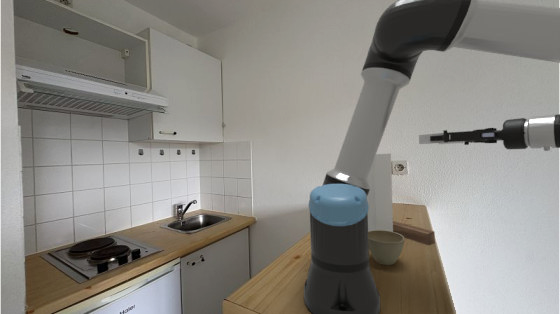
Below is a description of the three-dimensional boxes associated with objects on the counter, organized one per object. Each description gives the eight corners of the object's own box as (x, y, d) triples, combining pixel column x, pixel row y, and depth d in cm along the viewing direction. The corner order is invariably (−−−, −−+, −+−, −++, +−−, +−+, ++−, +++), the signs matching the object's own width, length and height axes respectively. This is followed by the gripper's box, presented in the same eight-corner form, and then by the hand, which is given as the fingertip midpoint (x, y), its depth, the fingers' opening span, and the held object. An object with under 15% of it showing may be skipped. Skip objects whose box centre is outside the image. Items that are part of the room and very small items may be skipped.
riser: (376, 245, 74) (374, 154, 74) (342, 233, 85) (340, 154, 85) (393, 238, 80) (390, 153, 79) (359, 228, 91) (357, 154, 91)
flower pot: (367, 251, 70) (366, 228, 70) (403, 256, 65) (403, 232, 65) (363, 265, 61) (363, 239, 61) (406, 273, 56) (405, 244, 56)
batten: (428, 246, 73) (427, 233, 73) (367, 226, 94) (366, 217, 94) (434, 243, 75) (434, 231, 75) (373, 225, 96) (373, 215, 96)
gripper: (516, 149, 47) (410, 152, 65) (537, 148, 61) (446, 151, 79) (515, 113, 47) (409, 126, 65) (537, 120, 61) (445, 129, 79)
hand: (429, 139), depth 72 cm, fingers open, 13 cm apart
